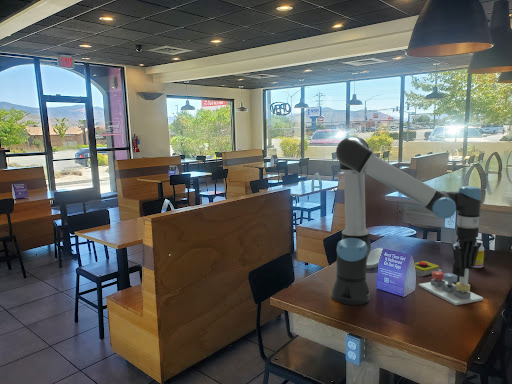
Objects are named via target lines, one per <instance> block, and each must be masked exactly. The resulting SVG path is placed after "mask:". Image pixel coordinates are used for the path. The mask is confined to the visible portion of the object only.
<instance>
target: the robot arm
mask: <svg viewBox="0 0 512 384" xmlns="http://www.w3.org/2000/svg"><path fill="white" fill-rule="evenodd" d="M335 154H336V159H337V160H338V162H339V170H340V171H341V172H342V173H343V190H344V227H345V228H344V229H343V230H341V240H339V241H338V242H337V245H336V278H335V281H334V284H333V287H332V289H331V297H332V299H333V300H334V301H336V302H338V303H341V304H344V305H348V306H349V305H350V306H361V305H365V304H366V303H369V301H370V298H371V294H370V290H369V287H368V282H367V268H366V263H367V259H368V255H369V253H370V251H372V250H371V249H372V245H371V240H370V231H369V230H368V229H367V228H366V226H367V225H366V220H367V219H366V177H365V175H368V176H370V177H371V178H373V179H375V180H377V182H380V183H381V184H384V185H385V186H387V187H389V188H390V189H392V190H394V191H396V192H397V193H399V194H401V195H403V196H405V197H406V198H407V199H410V200H412V201H413V202H415V203H417V204H418V205H419V206H422V207H424V208H425V209H426V210H429V211H430V212H432V213H433V214H434V215H435V216H436V217H438V218H440V219H443V220H444V219H450V218H451V217H453V216H454V215H455V213H456V211H457V218H456V225H457V226H456V233H455V234H456V236H457V238H456V242H455V243H453V244H451V245H450V247H451V248H452V251H453V262H454V261H455V266H456V267H458V268H459V276H460V279H459V283H461V284H463V285H468V284H469V283H468V276H469V272H470V273H471V270H472V269H473V267H472V266H474V265H475V262H476V258H477V254H478V250H479V248H480V246H481V243H480V242H477V240H478V239H477V238H478V236H479V226H480V215H481V213H480V212H481V203H482V189H481V188H480V187H477V186H472V185H465V186H463V185H462V186H460V187H459V188H458V189H459V190H456V191H447V190H437V189H435V188H433V187H431V186H430V185H428V184H426V183H424V182H423V181H421V180H419V179H418V178H415V177H414V176H412V175H410V174H409V173H407V172H405V171H403V170H401V169H400V168H398V167H396V166H394V165H392V164H391V163H389V162H387V161H385V160H384V159H382V158H380V157H378V156H376V154H375V151H373V150H372V149H370V146H369V145H368V142H367V141H366V140H365V139H364V138H362V137H359V136H350V137H346V138H344V139H342V140H341V141H339V143H338V144H337V147H336V149H335ZM471 262H472V263H471ZM469 277H470V276H469Z"/></svg>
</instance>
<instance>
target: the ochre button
mask: <svg viewBox="0 0 512 384" xmlns="http://www.w3.org/2000/svg"><path fill="white" fill-rule="evenodd" d="M455 285H456V289H457V290H459V291H460V293H462V294H464V293H465V292H468V291H470V292H471V284H469V283H468V285H463V284H461V283H459V282H457V283H455Z"/></svg>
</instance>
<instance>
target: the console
mask: <svg viewBox="0 0 512 384" xmlns="http://www.w3.org/2000/svg"><path fill="white" fill-rule="evenodd" d="M418 287H420V288H422V289H423V290H425V291H427V292H429V293H431V294H433V295H435V296H436V297H438V298H441V299H443V300H445V301H446V302H448V303H450V304H451V305H453V306H459V305H464V304H469V303H471V304H472V303H475V302H480V301H484V297H483V296H481V295H478V294H476V293H474V292H473V291H471V290H470V291H468V292H465V293H464V294H462V293H460V291H459V290H457V289H456V283H452V285H448V282H447V281H445V280H440V281H439V282H437V281H436V279H434V278H431V279H430V281H428V282H423V283H418Z"/></svg>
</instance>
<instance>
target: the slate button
mask: <svg viewBox="0 0 512 384" xmlns="http://www.w3.org/2000/svg"><path fill="white" fill-rule="evenodd" d="M444 273H445V272H444ZM444 280H445V281H447V282H448V285H452V284H453V283H455V282H457V275H455V274H452V272H451V273H449V272H447V273H445V274H444Z"/></svg>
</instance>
